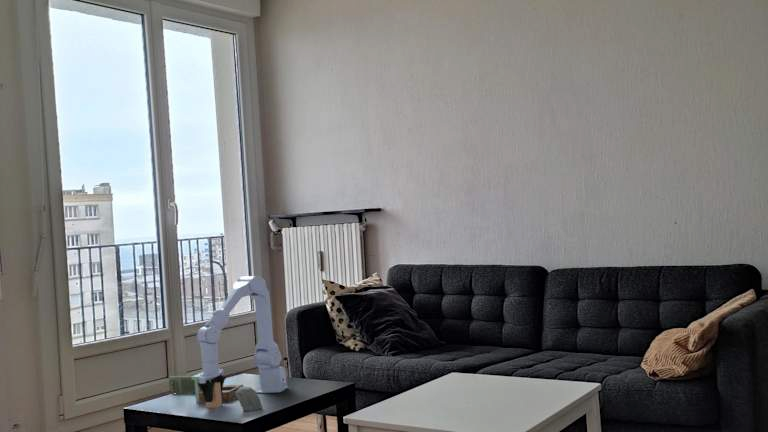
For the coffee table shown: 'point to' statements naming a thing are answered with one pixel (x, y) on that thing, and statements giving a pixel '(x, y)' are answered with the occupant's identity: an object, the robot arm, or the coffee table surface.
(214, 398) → the tan peg
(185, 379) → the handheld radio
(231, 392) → the socket plate
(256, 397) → the mineral specimen
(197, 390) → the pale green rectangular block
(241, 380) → the coffee table surface
